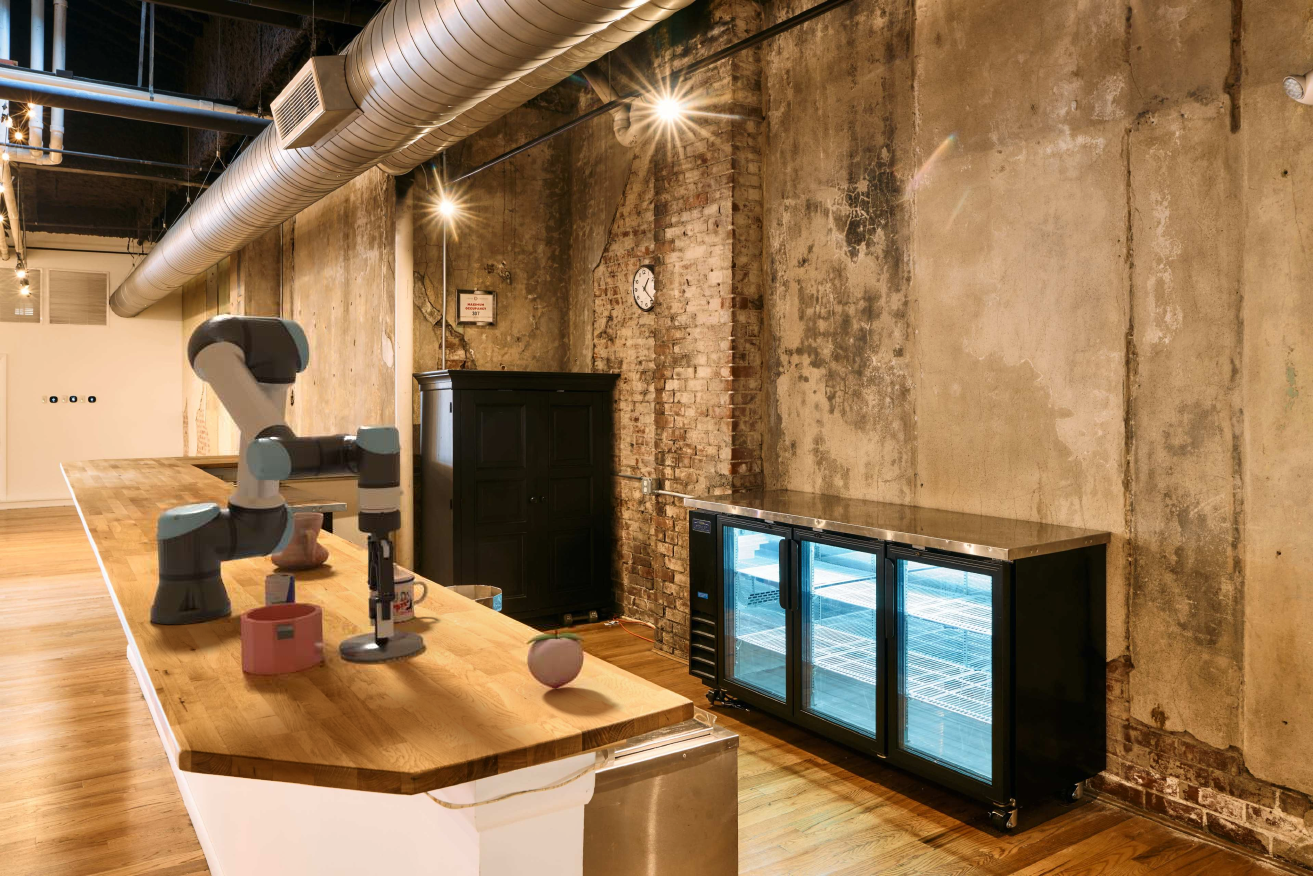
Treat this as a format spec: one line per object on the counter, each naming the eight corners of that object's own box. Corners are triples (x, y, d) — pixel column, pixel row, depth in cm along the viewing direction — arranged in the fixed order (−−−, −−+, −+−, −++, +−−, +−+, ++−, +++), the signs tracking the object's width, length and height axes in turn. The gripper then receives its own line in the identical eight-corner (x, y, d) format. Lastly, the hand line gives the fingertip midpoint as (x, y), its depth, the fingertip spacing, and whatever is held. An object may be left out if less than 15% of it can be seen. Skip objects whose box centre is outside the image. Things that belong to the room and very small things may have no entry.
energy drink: (302, 633, 169) (300, 573, 168) (282, 640, 164) (280, 579, 163) (280, 630, 171) (279, 571, 170) (260, 638, 166) (258, 577, 165)
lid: (321, 658, 154) (320, 604, 154) (373, 635, 168) (372, 585, 168) (391, 667, 149) (390, 611, 149) (439, 642, 164) (438, 591, 163)
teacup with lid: (376, 626, 174) (375, 570, 173) (365, 616, 182) (364, 562, 181) (434, 618, 180) (433, 563, 180) (421, 608, 188) (420, 556, 187)
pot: (328, 674, 145) (327, 622, 144) (243, 686, 139) (241, 632, 138) (316, 641, 164) (315, 595, 163) (241, 650, 158) (239, 602, 157)
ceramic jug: (263, 565, 233) (261, 514, 232) (317, 559, 242) (316, 509, 241) (282, 577, 219) (281, 522, 218) (339, 569, 228) (338, 517, 227)
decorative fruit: (535, 702, 132) (535, 639, 132) (522, 685, 140) (522, 625, 139) (593, 694, 136) (592, 632, 135) (576, 677, 144) (576, 619, 143)
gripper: (411, 515, 150) (413, 642, 151) (390, 501, 168) (392, 614, 170) (366, 518, 146) (368, 648, 148) (350, 503, 165) (352, 619, 166)
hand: (381, 630), depth 159 cm, fingers open, 8 cm apart
